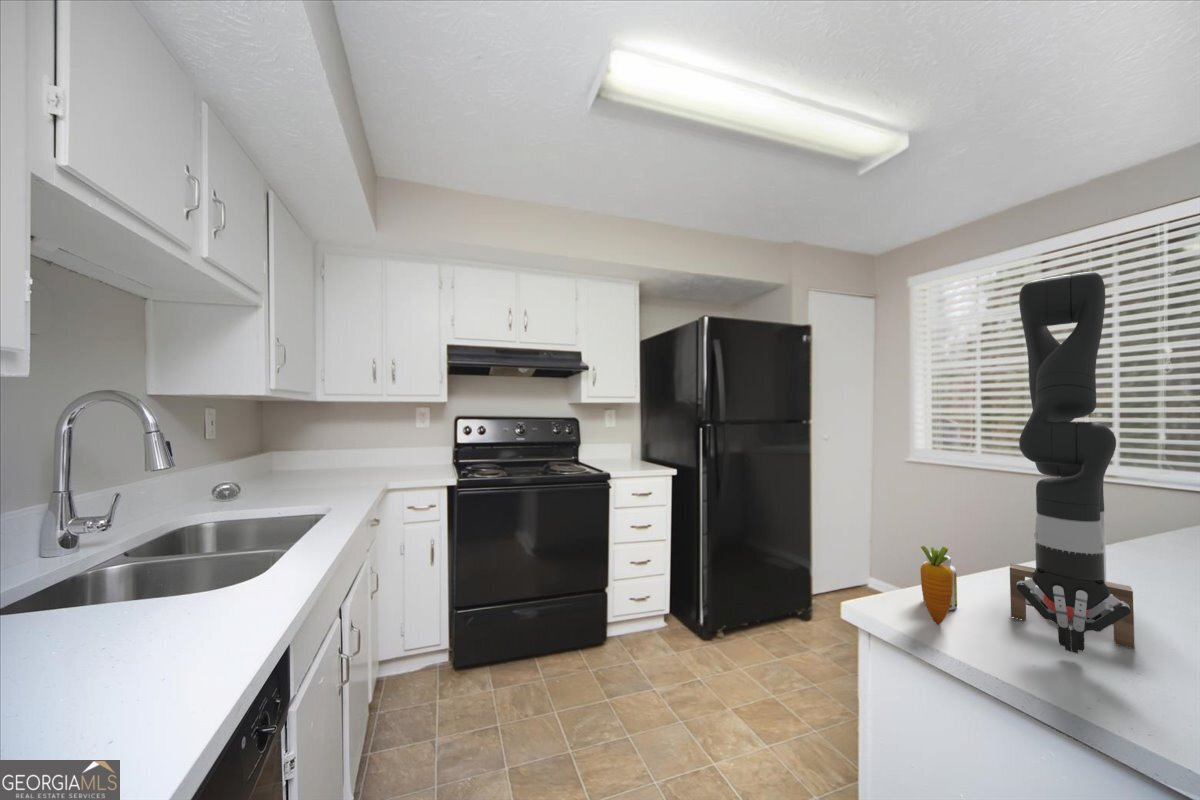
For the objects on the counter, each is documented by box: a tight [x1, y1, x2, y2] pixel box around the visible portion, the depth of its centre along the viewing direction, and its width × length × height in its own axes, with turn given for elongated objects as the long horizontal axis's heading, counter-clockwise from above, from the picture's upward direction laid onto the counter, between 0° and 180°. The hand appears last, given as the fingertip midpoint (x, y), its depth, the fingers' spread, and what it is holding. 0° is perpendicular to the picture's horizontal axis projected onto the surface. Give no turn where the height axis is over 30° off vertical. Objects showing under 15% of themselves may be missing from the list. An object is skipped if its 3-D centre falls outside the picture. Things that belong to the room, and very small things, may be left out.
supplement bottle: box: [921, 552, 958, 611], centre depth 88 cm, size 6×6×10 cm
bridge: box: [1009, 563, 1135, 649], centre depth 78 cm, size 3×15×10 cm, turn 44°
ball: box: [1043, 594, 1089, 622], centre depth 81 cm, size 6×6×6 cm
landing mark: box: [1026, 586, 1114, 626], centre depth 87 cm, size 12×12×1 cm
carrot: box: [920, 545, 953, 625], centre depth 80 cm, size 5×5×15 cm
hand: (1071, 649), depth 69 cm, fingers closed
